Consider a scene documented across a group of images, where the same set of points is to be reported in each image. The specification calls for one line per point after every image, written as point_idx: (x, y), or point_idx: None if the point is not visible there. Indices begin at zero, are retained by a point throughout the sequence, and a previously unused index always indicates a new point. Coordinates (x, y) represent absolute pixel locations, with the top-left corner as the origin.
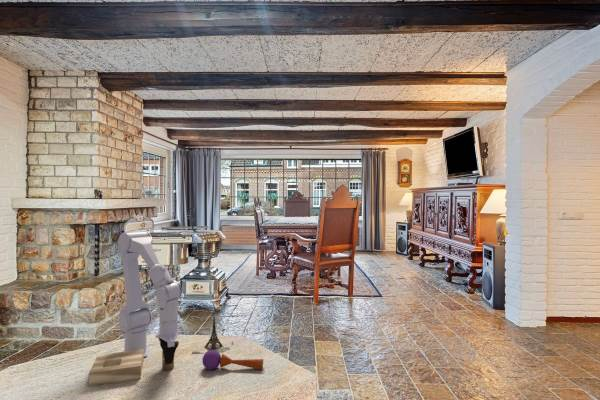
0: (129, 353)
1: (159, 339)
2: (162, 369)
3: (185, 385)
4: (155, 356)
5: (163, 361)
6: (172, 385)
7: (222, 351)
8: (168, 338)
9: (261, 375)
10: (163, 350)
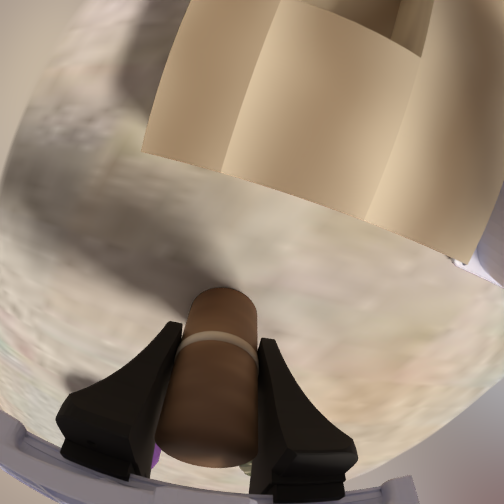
0: (474, 149)
1: (289, 453)
2: (221, 288)
3: (29, 308)
4: (421, 299)
5: (201, 324)
6: (37, 270)
7: (248, 466)
8: (44, 487)
9: (59, 438)
10: (94, 385)
